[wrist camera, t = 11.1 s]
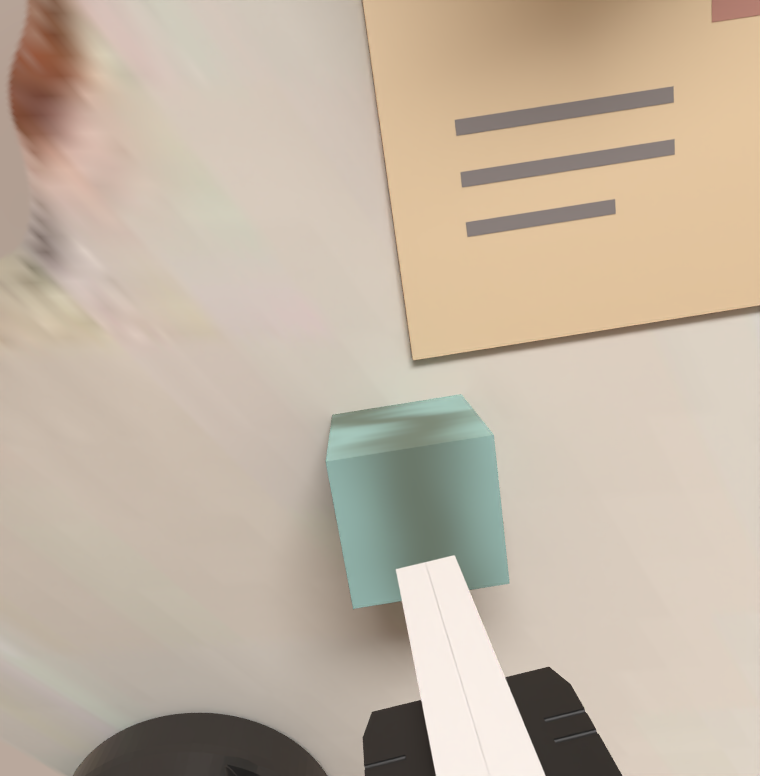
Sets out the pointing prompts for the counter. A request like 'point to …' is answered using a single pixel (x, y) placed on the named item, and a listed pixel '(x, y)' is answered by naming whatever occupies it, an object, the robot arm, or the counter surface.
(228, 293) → the counter surface
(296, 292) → the counter surface
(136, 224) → the counter surface
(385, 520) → the teal block
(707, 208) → the letter card
